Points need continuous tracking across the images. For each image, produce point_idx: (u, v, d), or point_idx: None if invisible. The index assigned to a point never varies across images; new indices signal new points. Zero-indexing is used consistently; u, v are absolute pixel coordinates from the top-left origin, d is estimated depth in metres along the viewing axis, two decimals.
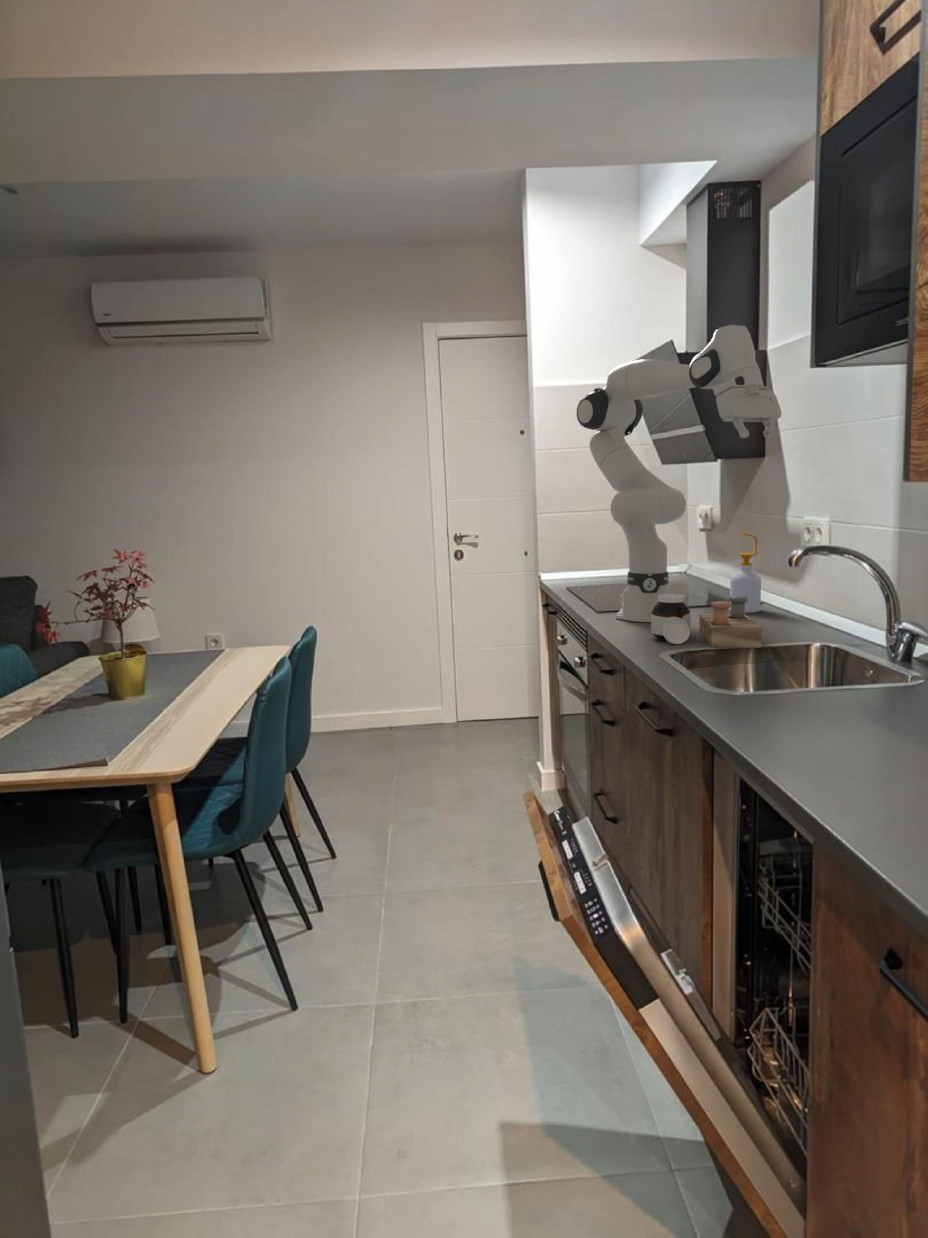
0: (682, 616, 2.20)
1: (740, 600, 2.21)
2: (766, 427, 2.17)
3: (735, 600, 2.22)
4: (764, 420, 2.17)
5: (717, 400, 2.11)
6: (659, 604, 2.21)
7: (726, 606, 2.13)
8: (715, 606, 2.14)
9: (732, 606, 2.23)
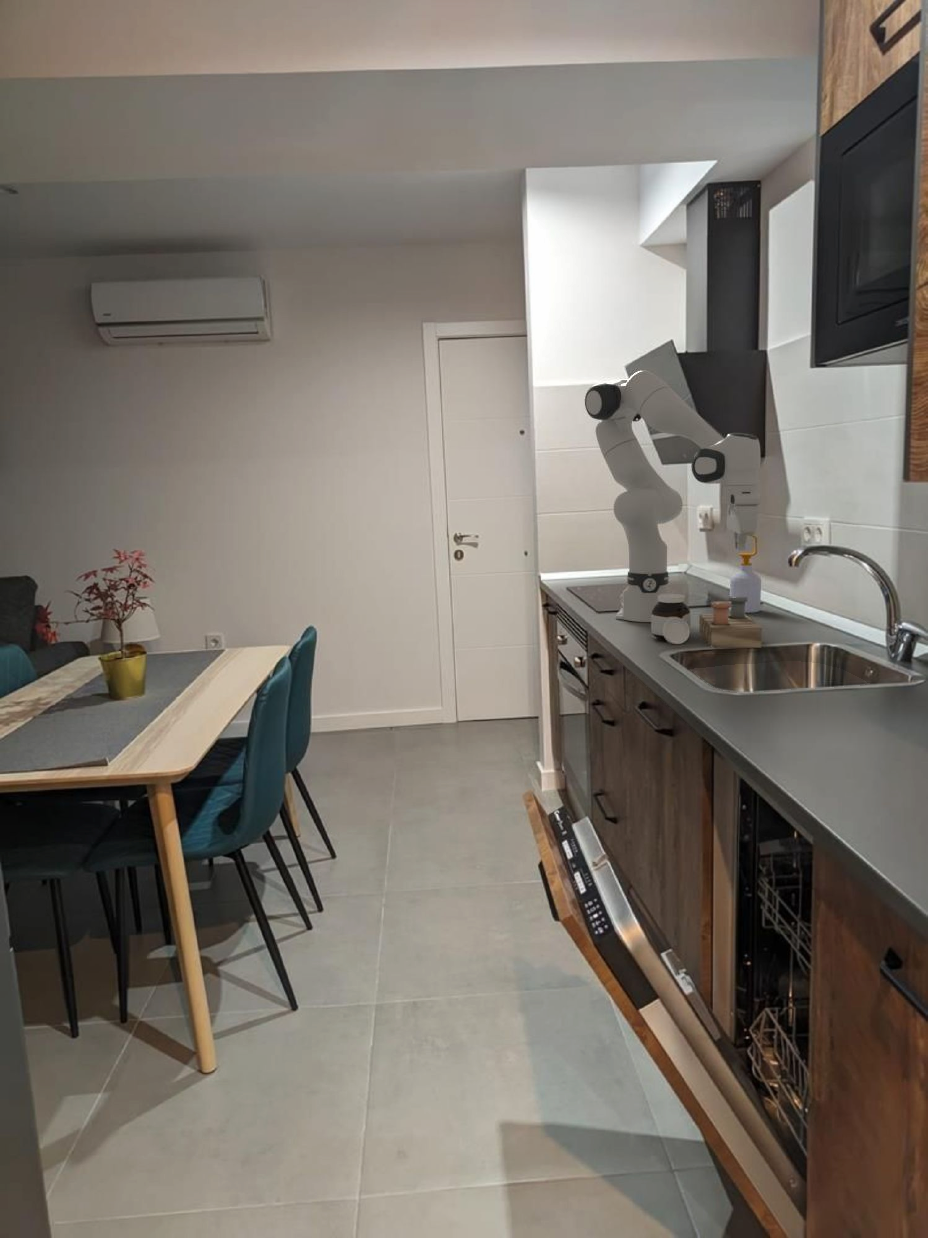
0: (682, 616, 2.20)
1: (740, 600, 2.21)
2: (736, 538, 2.23)
3: (735, 600, 2.22)
4: None
5: (741, 512, 2.10)
6: (659, 604, 2.21)
7: (726, 606, 2.13)
8: (715, 606, 2.14)
9: (732, 606, 2.23)
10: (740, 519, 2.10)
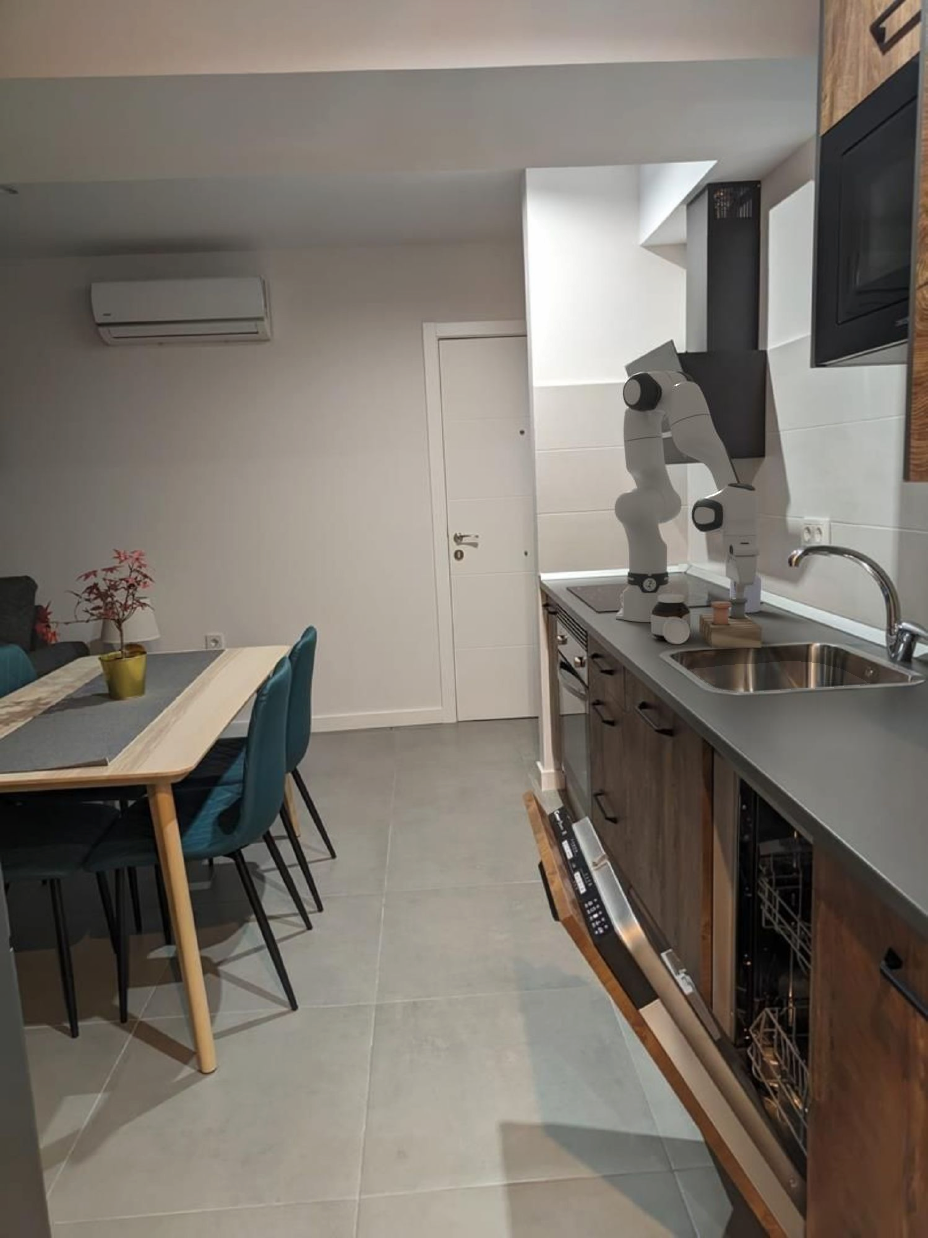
0: (682, 616, 2.20)
1: (740, 601, 2.21)
2: (736, 587, 2.24)
3: (735, 601, 2.22)
4: None
5: (740, 563, 2.13)
6: (659, 604, 2.21)
7: (726, 606, 2.13)
8: (715, 606, 2.14)
9: (732, 607, 2.23)
10: (739, 570, 2.13)
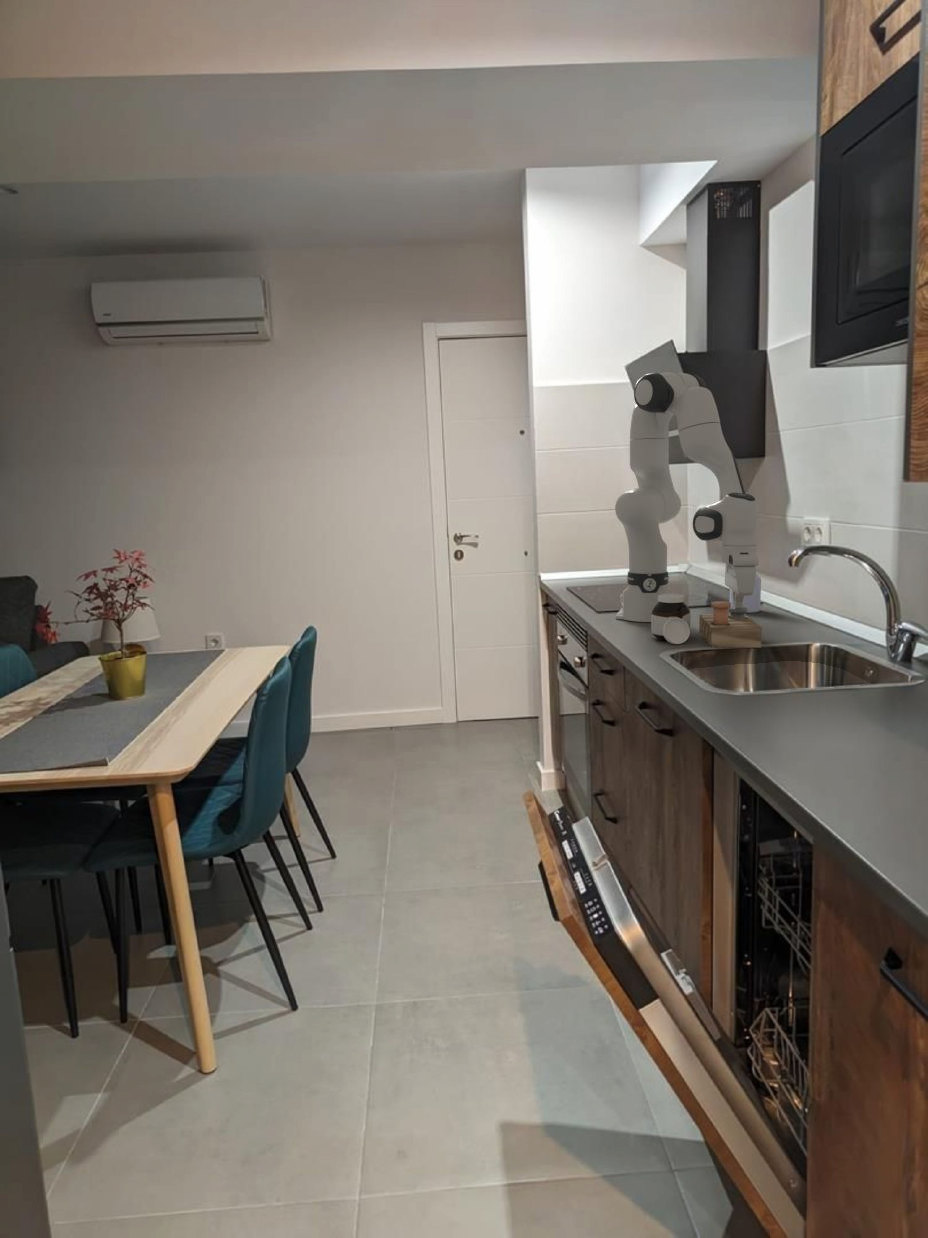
0: (682, 616, 2.20)
1: (740, 611, 2.22)
2: (735, 596, 2.25)
3: (735, 611, 2.22)
4: None
5: (739, 573, 2.13)
6: (659, 604, 2.21)
7: (726, 606, 2.13)
8: (715, 606, 2.14)
9: (732, 617, 2.24)
10: (738, 580, 2.13)
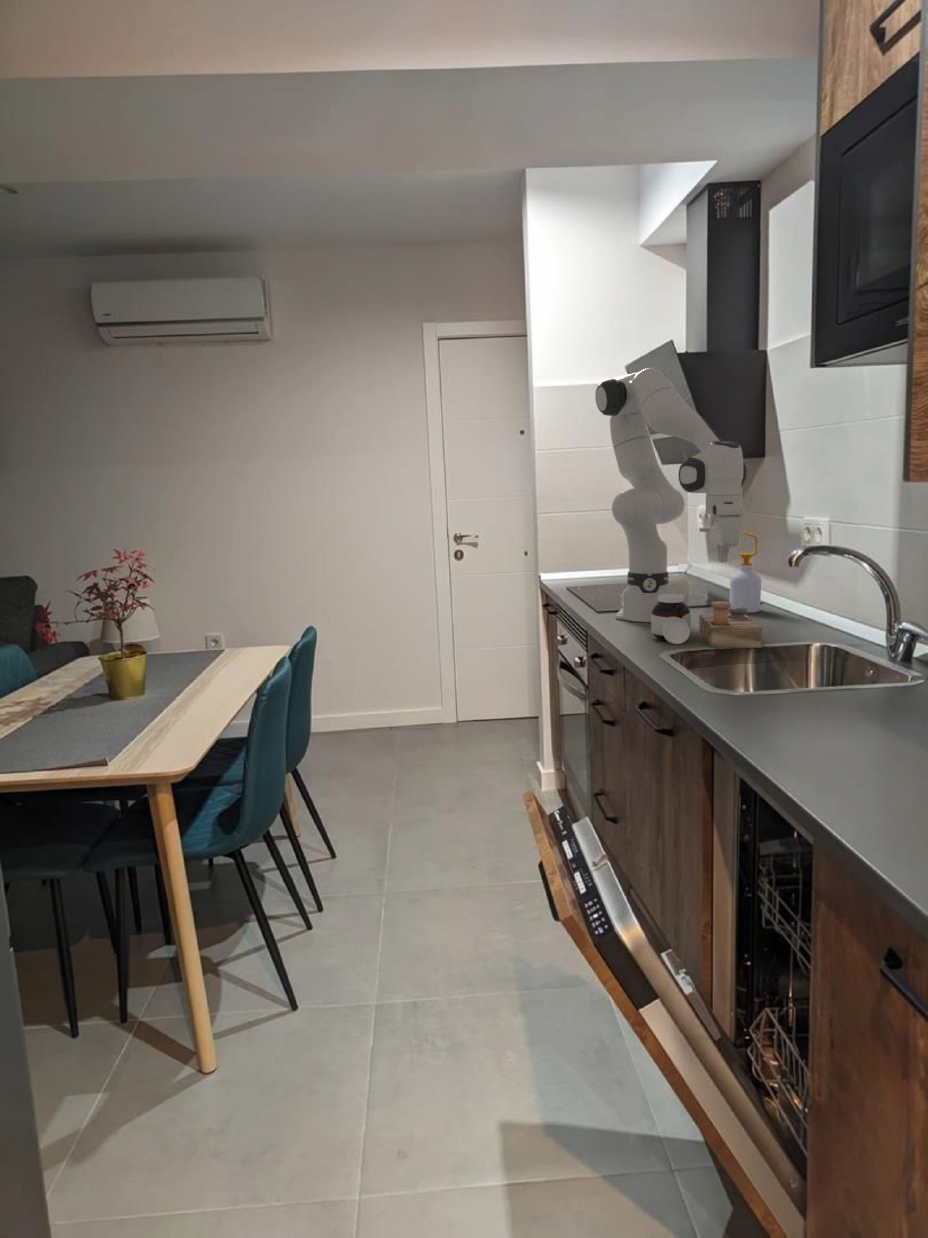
0: (682, 616, 2.20)
1: (740, 611, 2.22)
2: (720, 550, 2.14)
3: (735, 611, 2.22)
4: None
5: (723, 523, 2.03)
6: (659, 604, 2.21)
7: (726, 606, 2.13)
8: (715, 606, 2.14)
9: (732, 617, 2.24)
10: (722, 530, 2.03)
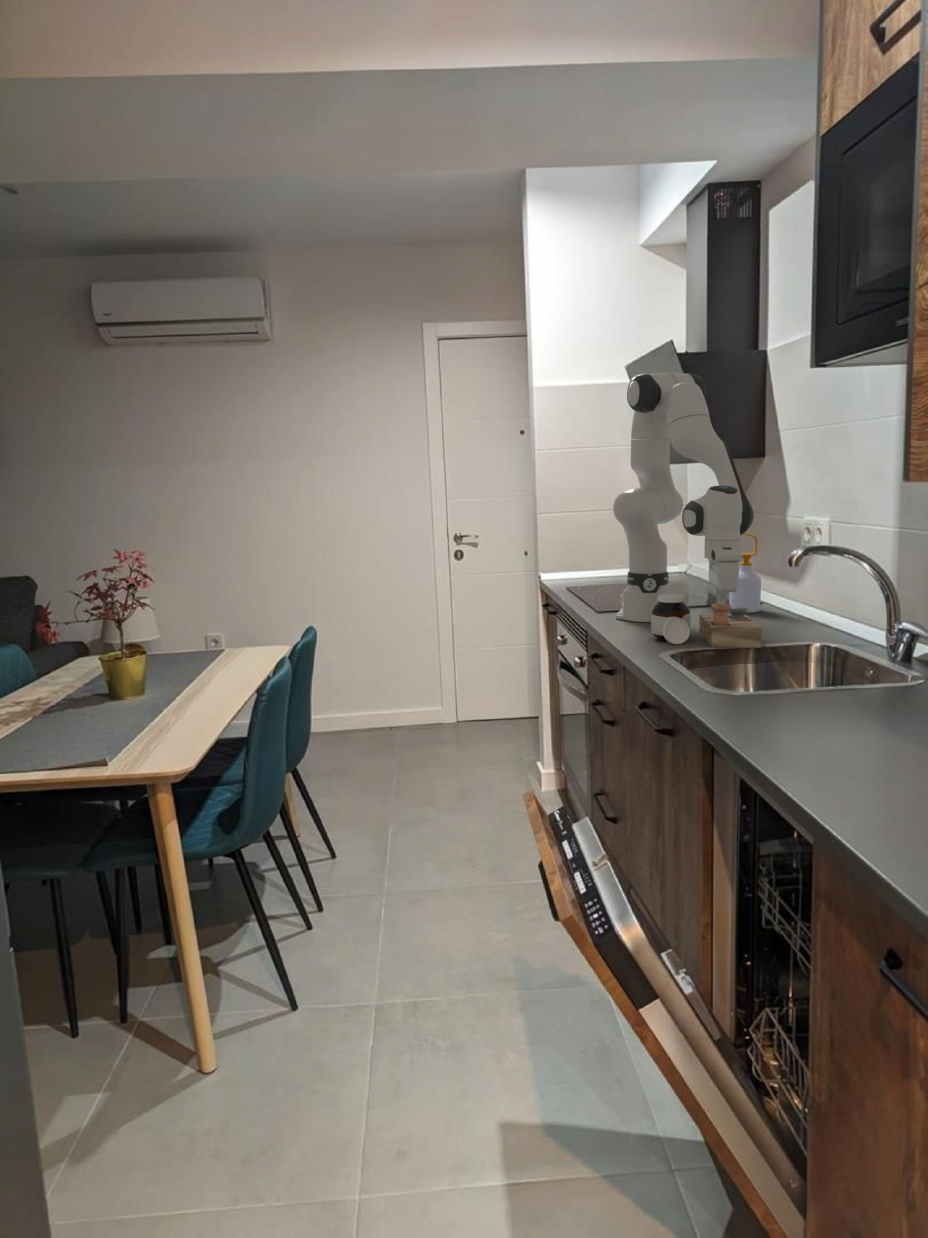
0: (682, 616, 2.20)
1: (740, 611, 2.22)
2: (718, 593, 2.16)
3: (735, 611, 2.22)
4: None
5: (722, 569, 2.05)
6: (659, 604, 2.21)
7: (726, 608, 2.13)
8: (715, 608, 2.14)
9: (732, 617, 2.24)
10: (721, 576, 2.05)
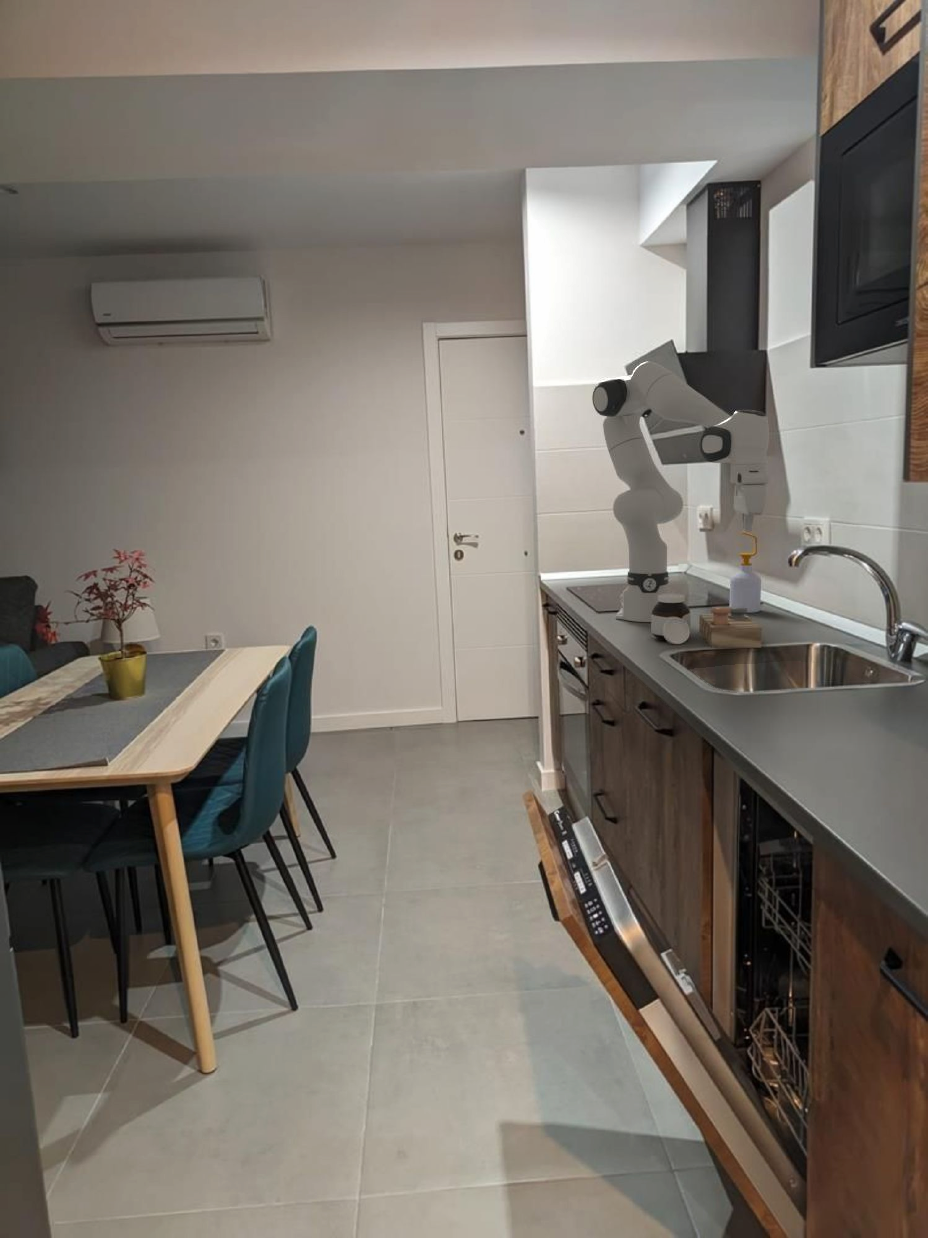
0: (682, 616, 2.20)
1: (740, 611, 2.22)
2: (744, 520, 2.14)
3: (735, 611, 2.22)
4: None
5: (748, 491, 2.02)
6: (659, 604, 2.21)
7: (726, 611, 2.13)
8: (715, 611, 2.14)
9: (732, 617, 2.24)
10: (747, 499, 2.03)
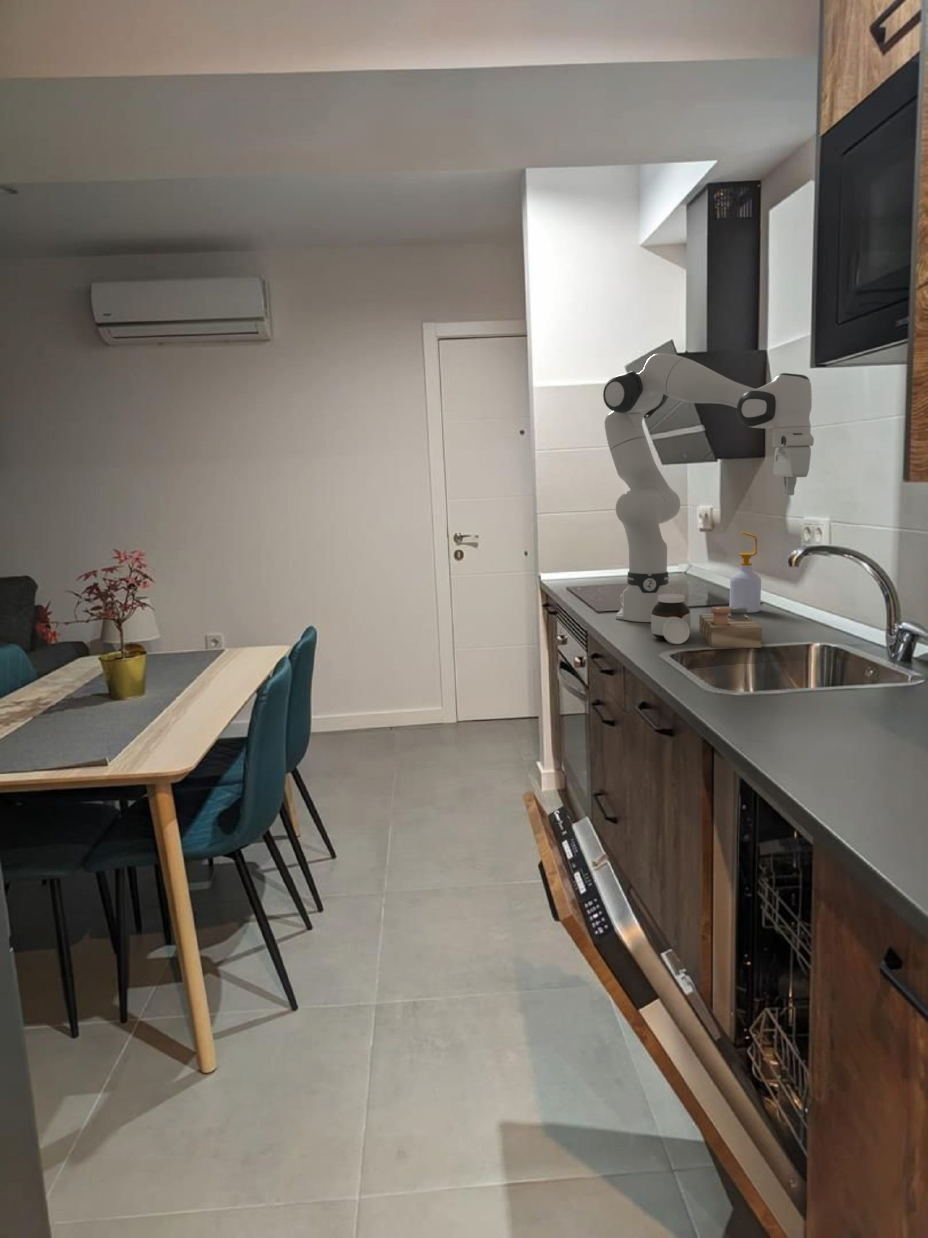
0: (682, 616, 2.20)
1: (740, 611, 2.22)
2: (786, 484, 2.15)
3: (735, 611, 2.22)
4: None
5: (793, 453, 2.03)
6: (659, 604, 2.21)
7: (726, 611, 2.13)
8: (715, 611, 2.14)
9: (732, 617, 2.24)
10: (792, 461, 2.03)
